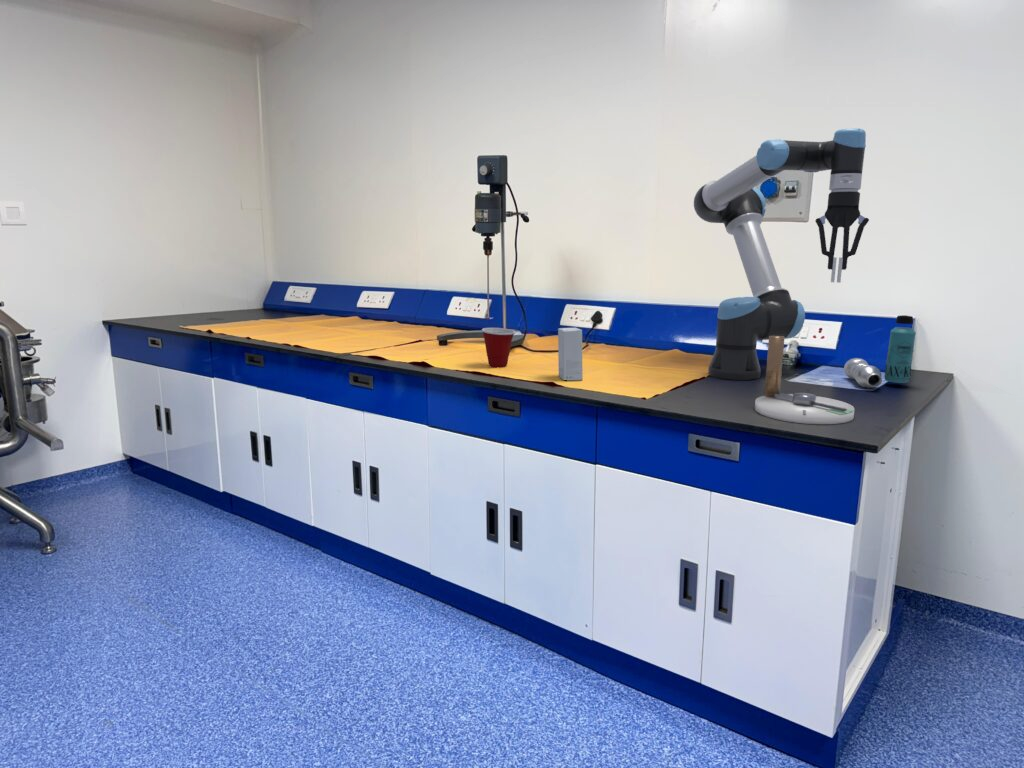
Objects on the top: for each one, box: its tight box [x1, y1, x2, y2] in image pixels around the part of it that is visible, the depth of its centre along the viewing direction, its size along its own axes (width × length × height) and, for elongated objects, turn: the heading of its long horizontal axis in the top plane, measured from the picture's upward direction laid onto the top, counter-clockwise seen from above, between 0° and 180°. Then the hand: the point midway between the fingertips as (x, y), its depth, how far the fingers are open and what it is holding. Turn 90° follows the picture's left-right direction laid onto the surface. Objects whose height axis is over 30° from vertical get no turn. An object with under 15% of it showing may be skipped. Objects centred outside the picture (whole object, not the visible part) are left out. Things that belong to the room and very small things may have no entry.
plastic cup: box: [481, 327, 516, 368], centre depth 225 cm, size 11×11×12 cm
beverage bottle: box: [883, 315, 917, 384], centre depth 196 cm, size 6×7×20 cm
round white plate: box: [754, 393, 855, 425], centre depth 168 cm, size 22×22×2 cm
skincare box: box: [557, 327, 584, 381], centre depth 206 cm, size 8×6×15 cm
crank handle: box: [763, 335, 846, 412], centre depth 166 cm, size 21×5×15 cm, turn 33°
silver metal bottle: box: [843, 357, 883, 389], centre depth 199 cm, size 6×7×20 cm
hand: (835, 282), depth 188 cm, fingers closed
